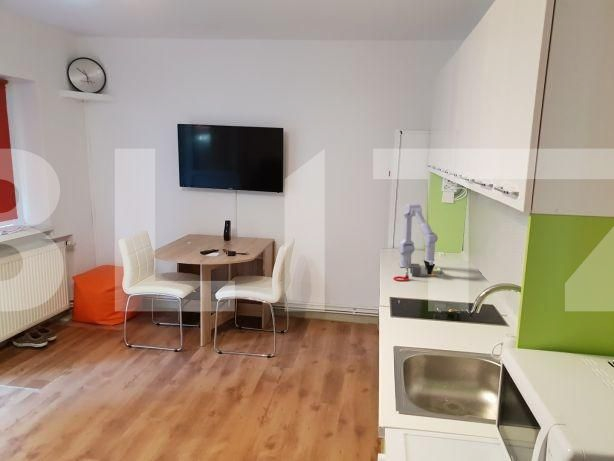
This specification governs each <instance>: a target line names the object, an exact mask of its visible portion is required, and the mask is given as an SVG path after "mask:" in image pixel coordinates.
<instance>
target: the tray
mask: <svg viewBox="0 0 614 461" xmlns="http://www.w3.org/2000/svg"><path fill="white" fill-rule="evenodd" d="M420 267H424V266H421V265H420ZM434 274H436V275H439V274H440V275H442V270H441V268H440V267H439V266H434V267H433V275H434Z"/></svg>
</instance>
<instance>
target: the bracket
mask: <svg viewBox="0 0 614 461" xmlns="http://www.w3.org/2000/svg"><path fill="white" fill-rule="evenodd" d="M420 266H421V265H420V263H413V262H411V268H409V270H410V272H409V273H410V274H411V269H412V274H411V277H412V278H421V277H422V276H421V267H420Z"/></svg>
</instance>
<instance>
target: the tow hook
mask: <svg viewBox="0 0 614 461" xmlns="http://www.w3.org/2000/svg"><path fill="white" fill-rule="evenodd" d="M409 278H410V275H409V268H408V259H407V260H406V268H405V276H403V275H402V276H393V278H392V280H393V279H394V280H393V281H395V282H406V281H407V282H409V281H410V279H409Z"/></svg>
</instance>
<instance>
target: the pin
mask: <svg viewBox="0 0 614 461" xmlns="http://www.w3.org/2000/svg"><path fill="white" fill-rule="evenodd" d="M410 274H411V275H412V269H411V273H410ZM433 276H434V274H433V270H432V273H431V274H428V273H427V267H425V266H423V267H421V276H420V277H433Z"/></svg>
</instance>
